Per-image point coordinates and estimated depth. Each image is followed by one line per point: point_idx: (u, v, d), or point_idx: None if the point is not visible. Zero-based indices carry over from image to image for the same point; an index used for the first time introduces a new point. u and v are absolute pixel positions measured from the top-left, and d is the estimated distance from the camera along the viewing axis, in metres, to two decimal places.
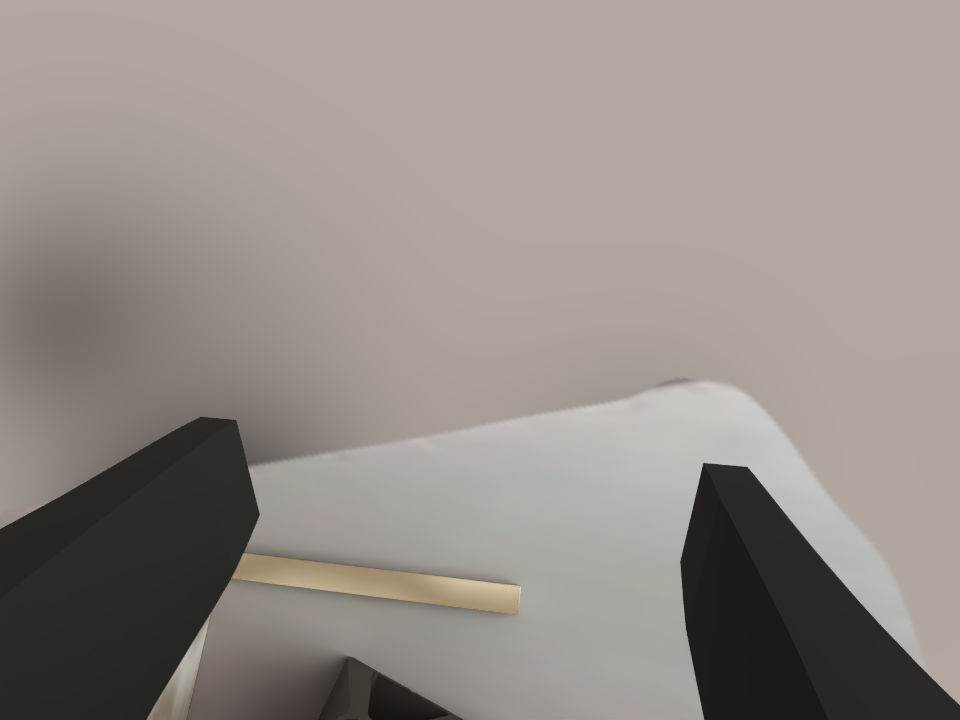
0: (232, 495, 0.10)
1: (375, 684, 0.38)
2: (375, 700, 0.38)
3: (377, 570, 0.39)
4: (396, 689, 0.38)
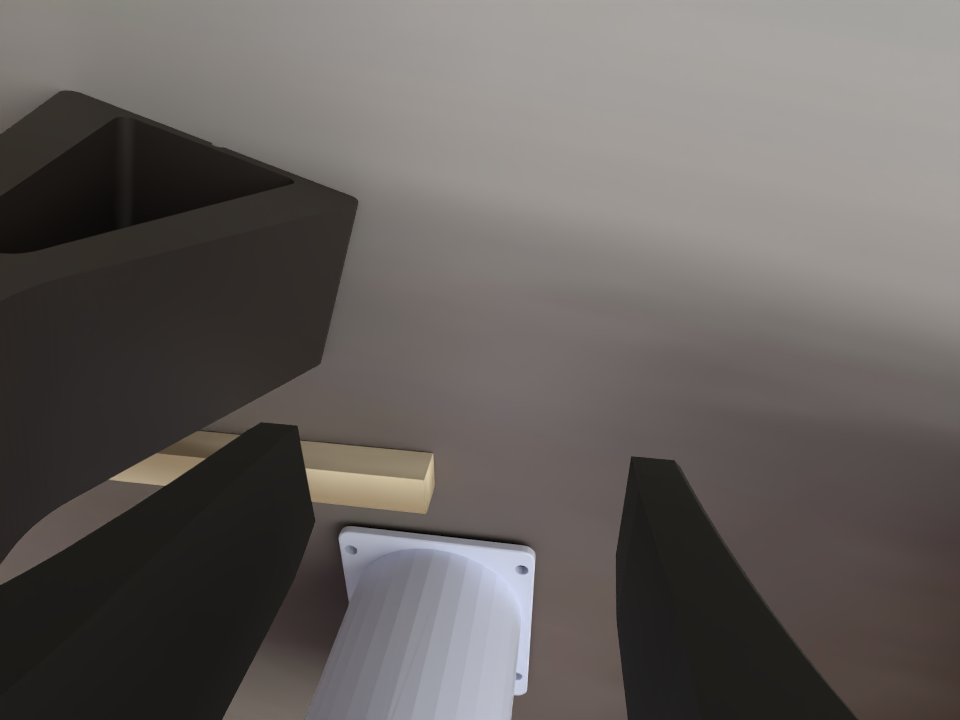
0: (293, 502, 0.10)
1: (137, 140, 0.18)
2: (151, 171, 0.19)
3: None
4: (180, 146, 0.18)
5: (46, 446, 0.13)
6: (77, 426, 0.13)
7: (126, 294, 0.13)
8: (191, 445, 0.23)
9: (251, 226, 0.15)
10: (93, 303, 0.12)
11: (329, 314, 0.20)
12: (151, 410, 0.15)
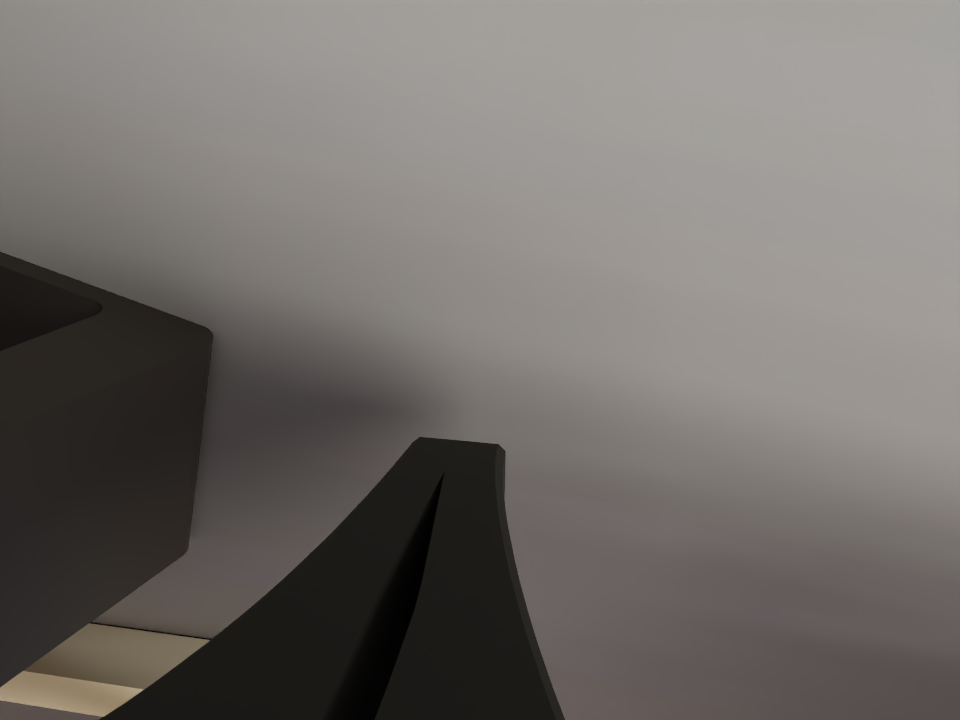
0: None
1: None
2: None
3: None
4: None
5: None
6: None
7: None
8: None
9: None
10: None
11: (188, 493, 0.13)
12: None
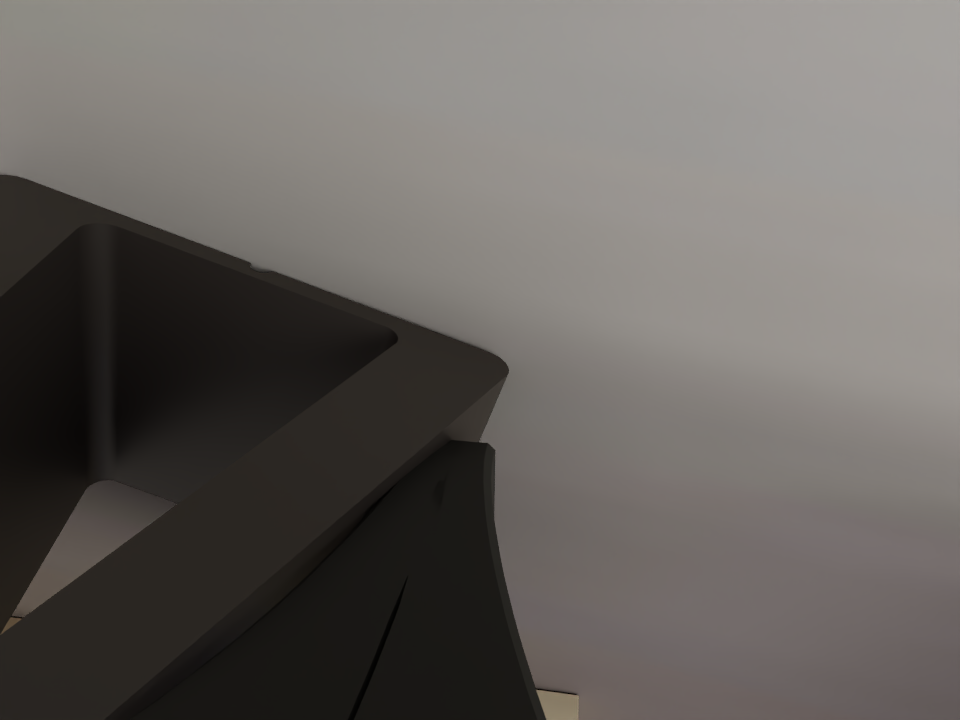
0: None
1: (120, 261, 0.10)
2: (145, 309, 0.11)
3: None
4: (195, 272, 0.10)
5: None
6: None
7: None
8: None
9: (346, 493, 0.07)
10: None
11: None
12: None
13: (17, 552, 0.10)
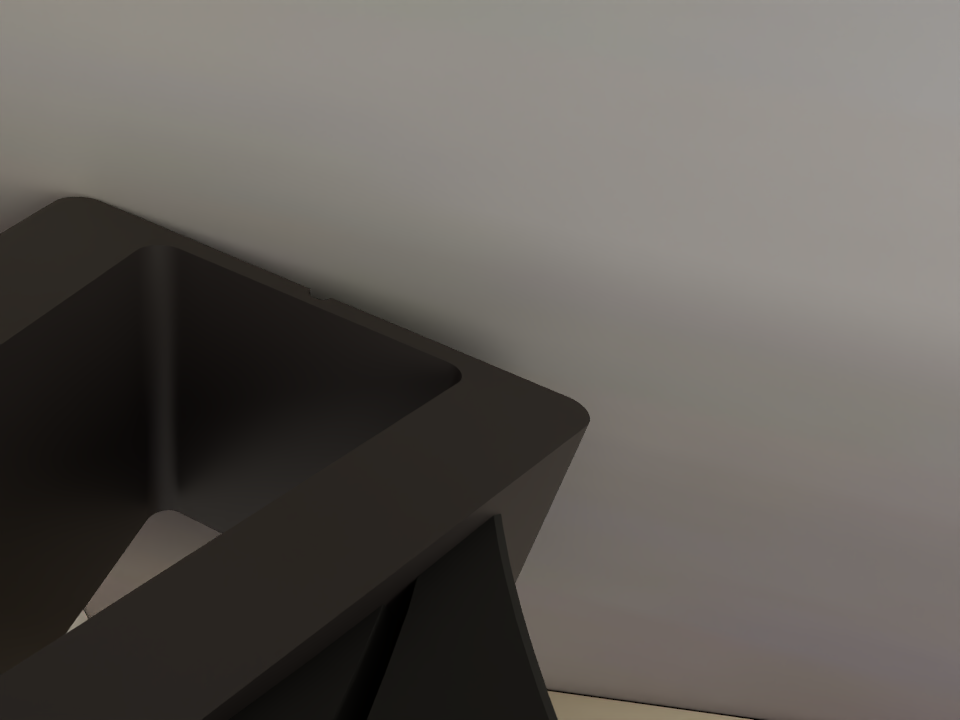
0: None
1: (181, 284, 0.10)
2: (205, 336, 0.10)
3: None
4: (252, 298, 0.10)
5: None
6: None
7: None
8: None
9: (371, 567, 0.06)
10: None
11: None
12: None
13: (61, 585, 0.10)
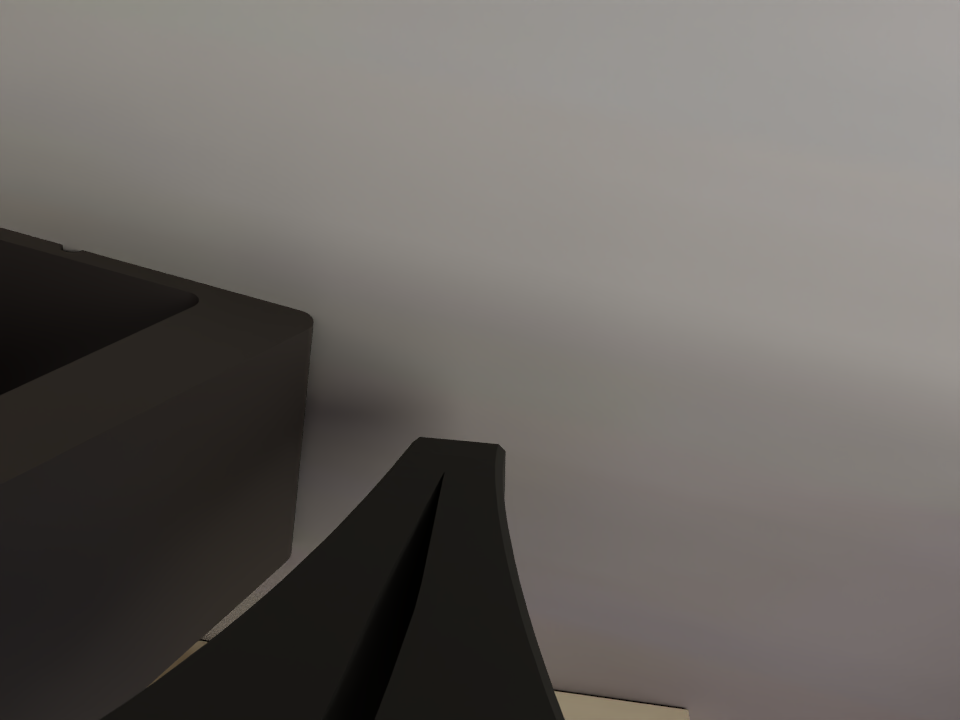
0: None
1: None
2: None
3: None
4: (7, 258, 0.11)
5: None
6: None
7: None
8: None
9: (74, 435, 0.07)
10: None
11: (292, 493, 0.12)
12: None
13: None
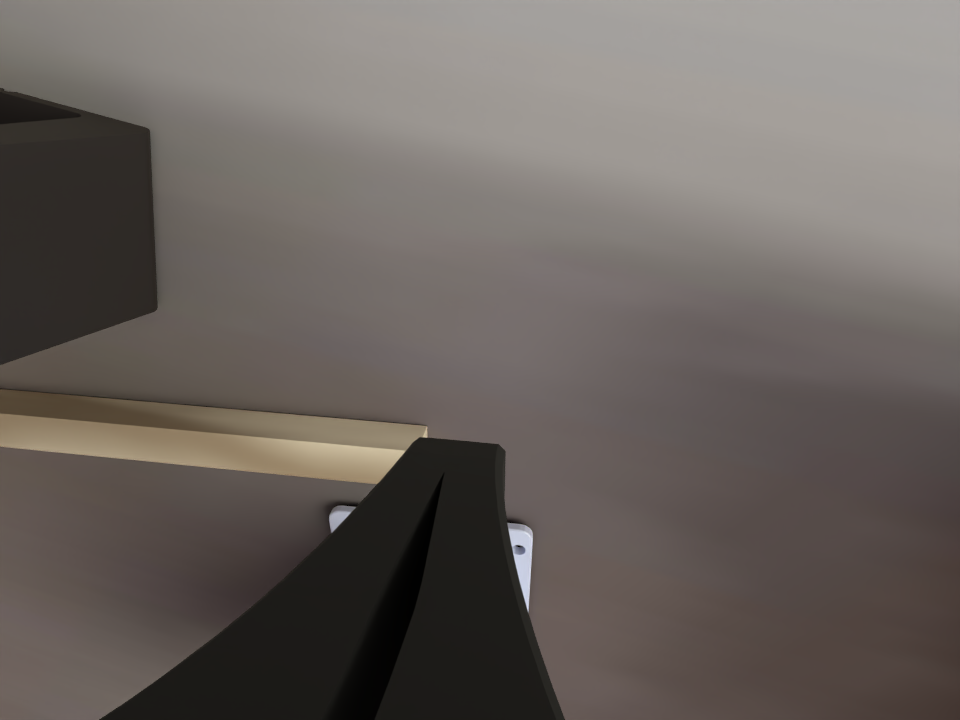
0: None
1: None
2: None
3: None
4: None
5: None
6: None
7: None
8: (176, 418, 0.23)
9: None
10: None
11: (150, 255, 0.20)
12: None
13: None
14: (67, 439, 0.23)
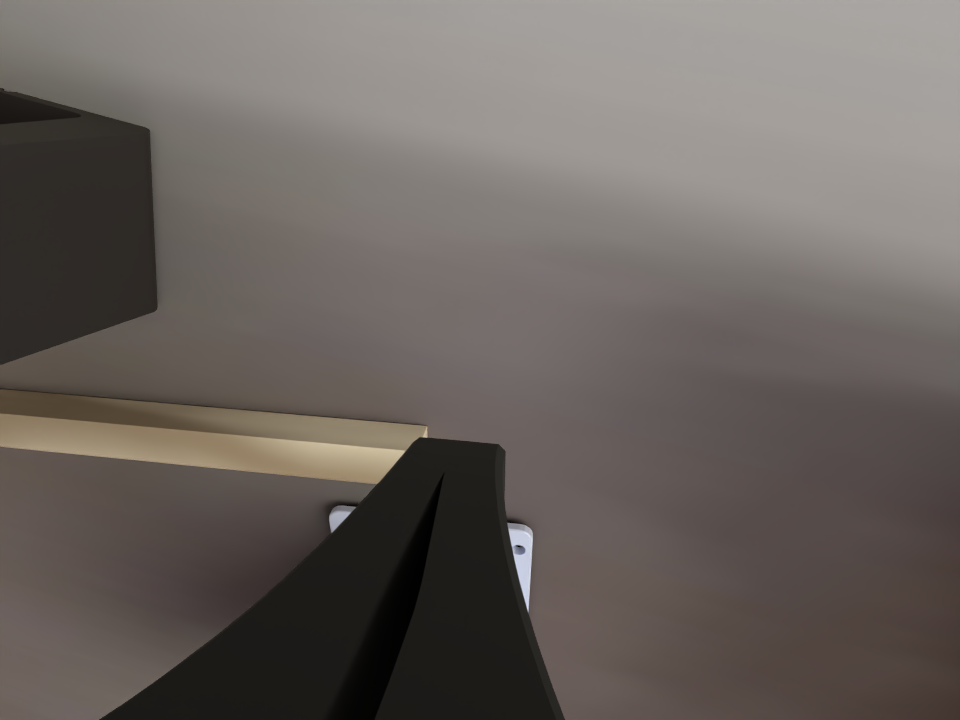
0: None
1: None
2: None
3: None
4: None
5: None
6: None
7: None
8: (176, 418, 0.23)
9: None
10: None
11: (150, 255, 0.20)
12: None
13: None
14: (67, 439, 0.23)
